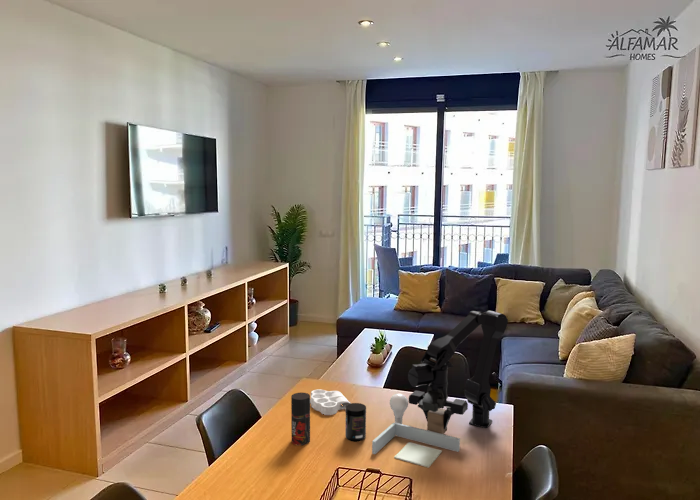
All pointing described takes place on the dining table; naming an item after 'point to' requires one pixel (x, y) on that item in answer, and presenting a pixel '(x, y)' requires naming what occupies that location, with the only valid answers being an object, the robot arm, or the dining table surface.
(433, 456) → the plate
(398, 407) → the lightbulb
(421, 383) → the robot arm
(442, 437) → the plastic wall
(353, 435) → the supplement container
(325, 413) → the white egg tray
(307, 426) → the deodorant
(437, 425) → the walnut block
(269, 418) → the dining table surface
